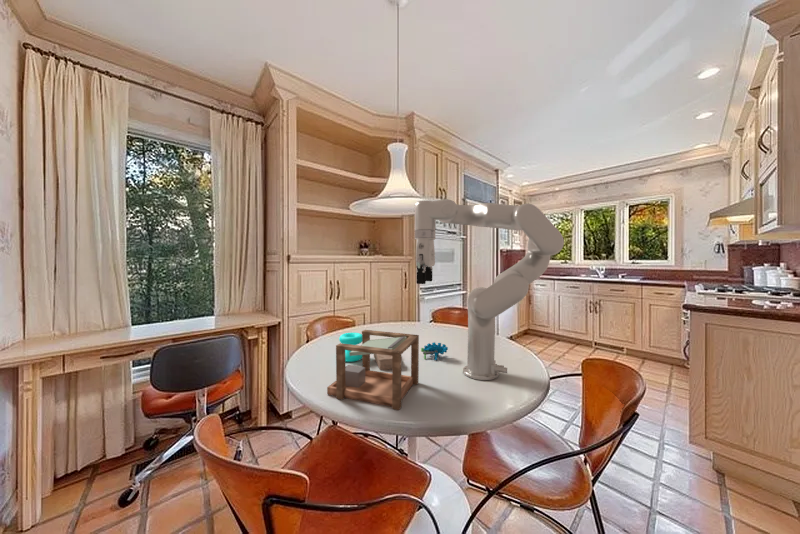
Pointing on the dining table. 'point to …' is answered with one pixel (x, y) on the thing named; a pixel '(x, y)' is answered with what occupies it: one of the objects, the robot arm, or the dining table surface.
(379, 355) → the brick
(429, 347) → the gear
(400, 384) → the frame
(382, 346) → the trapdoor
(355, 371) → the grey squarish block
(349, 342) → the donuts
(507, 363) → the dining table surface
